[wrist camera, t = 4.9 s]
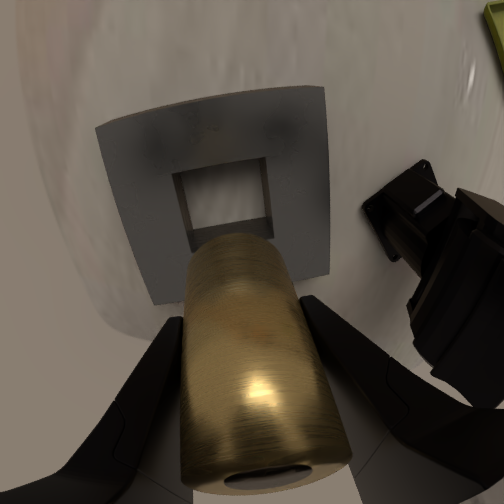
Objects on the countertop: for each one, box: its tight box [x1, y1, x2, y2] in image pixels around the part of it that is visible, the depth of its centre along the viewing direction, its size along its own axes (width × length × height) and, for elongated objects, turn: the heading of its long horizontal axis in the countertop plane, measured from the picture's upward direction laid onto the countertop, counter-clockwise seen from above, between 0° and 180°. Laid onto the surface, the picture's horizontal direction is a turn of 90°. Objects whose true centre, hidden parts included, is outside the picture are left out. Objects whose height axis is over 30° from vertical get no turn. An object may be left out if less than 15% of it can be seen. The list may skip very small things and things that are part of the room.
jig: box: [95, 85, 330, 305], centre depth 18 cm, size 12×12×3 cm
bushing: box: [180, 233, 353, 495], centre depth 8 cm, size 4×4×7 cm
